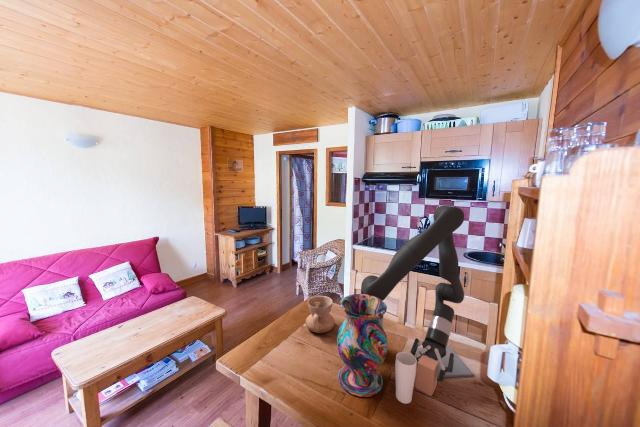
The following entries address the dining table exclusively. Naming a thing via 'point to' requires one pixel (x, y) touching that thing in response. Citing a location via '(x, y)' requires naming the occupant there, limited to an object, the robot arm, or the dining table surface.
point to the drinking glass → (405, 376)
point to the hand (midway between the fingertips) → (426, 375)
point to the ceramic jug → (320, 315)
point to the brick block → (427, 375)
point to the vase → (362, 344)
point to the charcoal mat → (458, 366)
